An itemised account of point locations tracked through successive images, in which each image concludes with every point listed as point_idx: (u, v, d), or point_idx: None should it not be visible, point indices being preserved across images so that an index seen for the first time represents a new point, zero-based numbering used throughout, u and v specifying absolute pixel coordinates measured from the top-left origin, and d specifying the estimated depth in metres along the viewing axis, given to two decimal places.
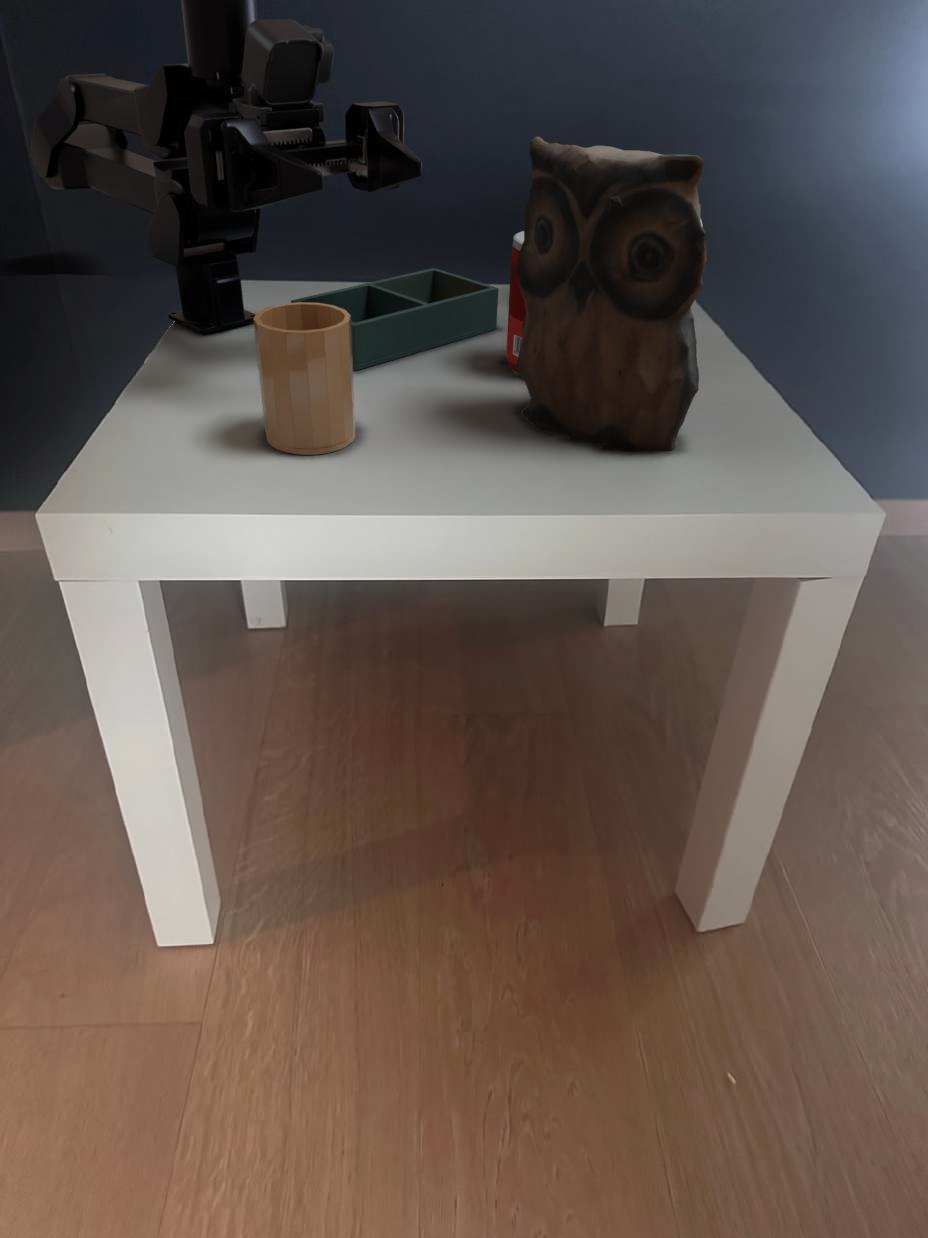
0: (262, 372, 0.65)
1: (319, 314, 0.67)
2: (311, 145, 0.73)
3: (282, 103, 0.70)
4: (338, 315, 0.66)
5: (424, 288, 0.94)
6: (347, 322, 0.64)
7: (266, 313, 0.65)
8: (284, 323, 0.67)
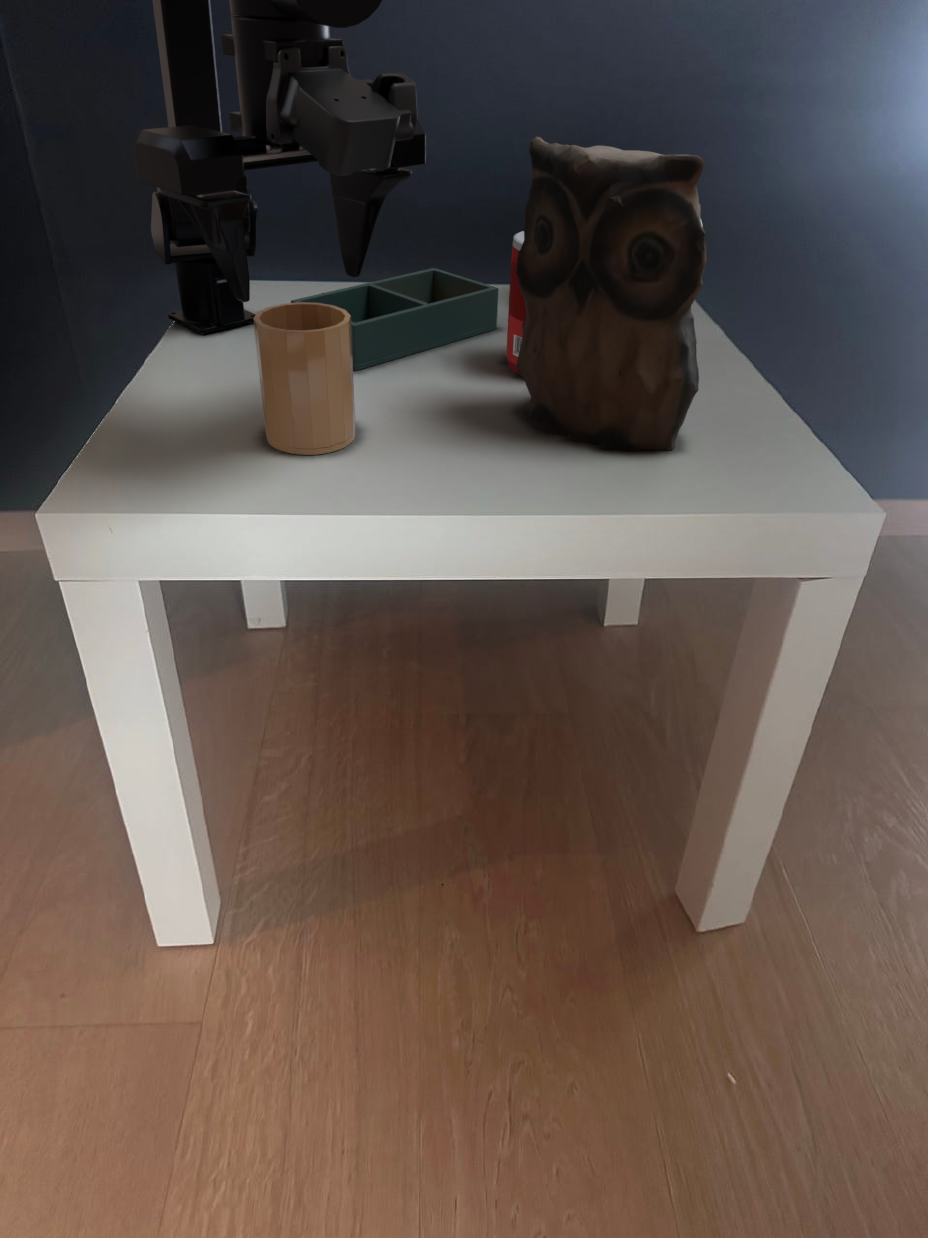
0: (262, 372, 0.65)
1: (319, 314, 0.67)
2: None
3: None
4: (338, 315, 0.66)
5: (424, 288, 0.94)
6: (347, 322, 0.64)
7: (266, 313, 0.65)
8: (284, 323, 0.67)
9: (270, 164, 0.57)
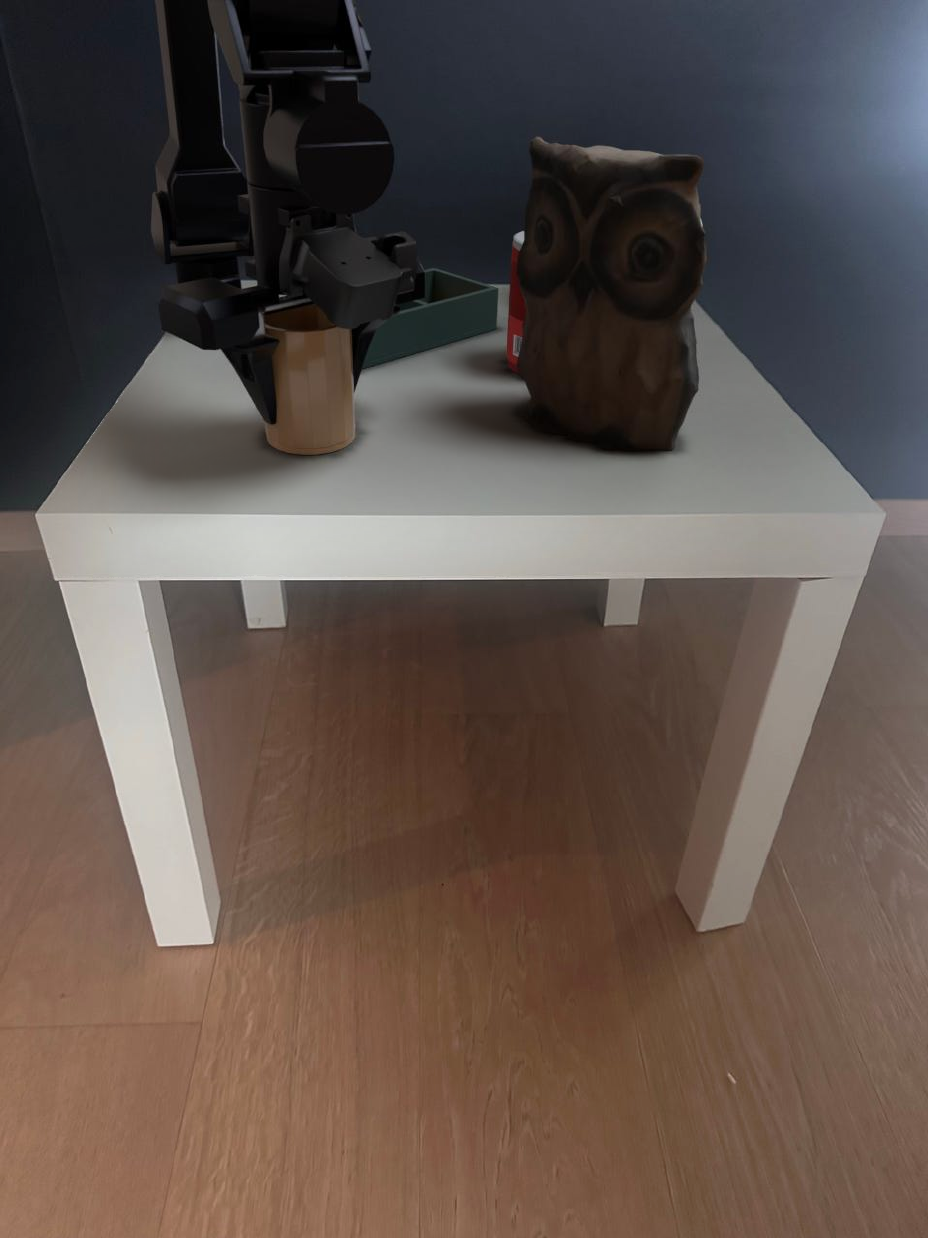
0: None
1: (319, 314, 0.67)
2: None
3: None
4: None
5: None
6: None
7: None
8: (284, 323, 0.67)
9: (282, 308, 0.62)
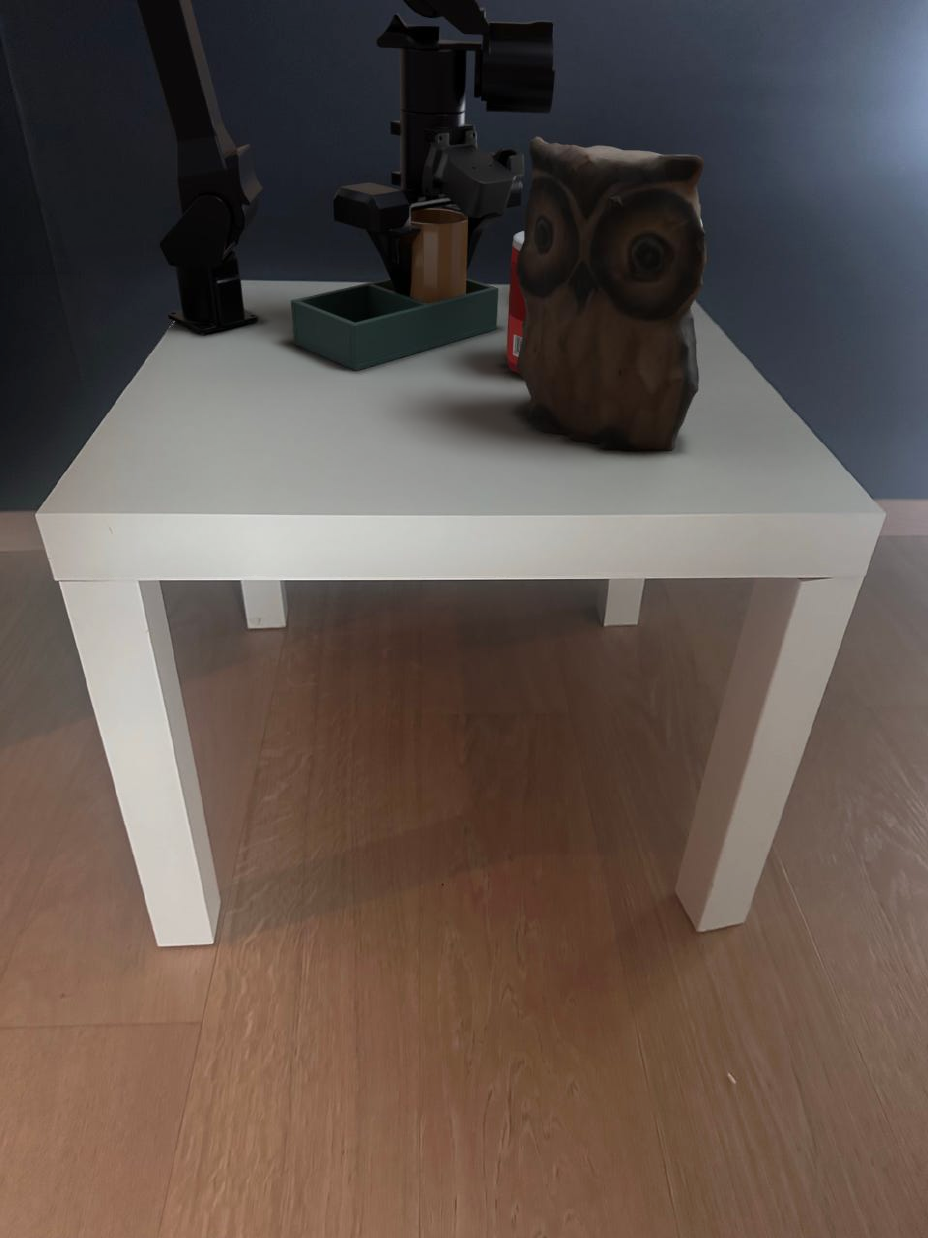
0: None
1: (441, 217, 0.88)
2: None
3: None
4: (457, 217, 0.87)
5: None
6: (467, 220, 0.84)
7: None
8: None
9: (419, 208, 0.83)
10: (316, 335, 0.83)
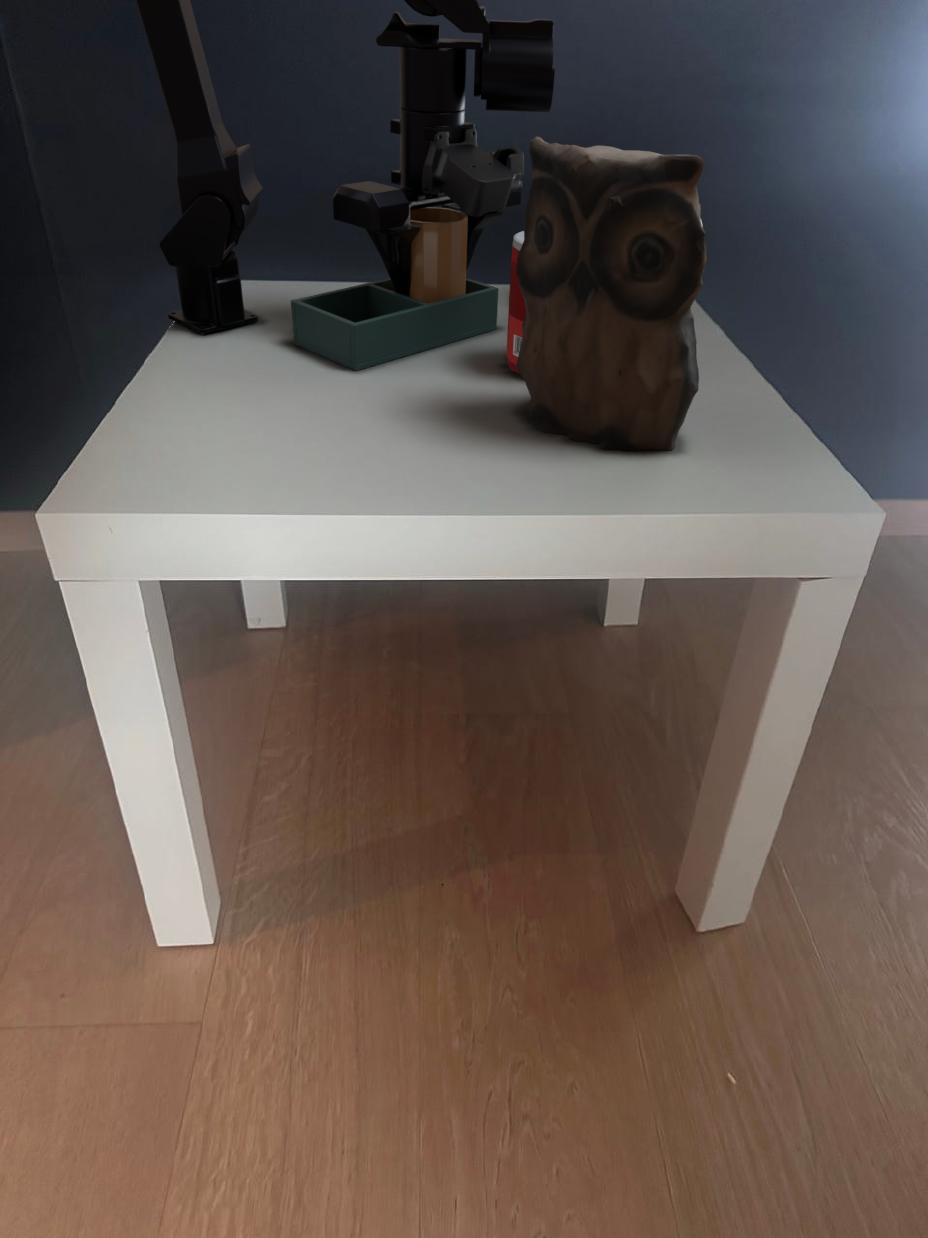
0: None
1: (441, 216, 0.88)
2: None
3: None
4: (457, 216, 0.87)
5: None
6: (467, 218, 0.84)
7: None
8: None
9: (419, 206, 0.83)
10: (316, 335, 0.83)
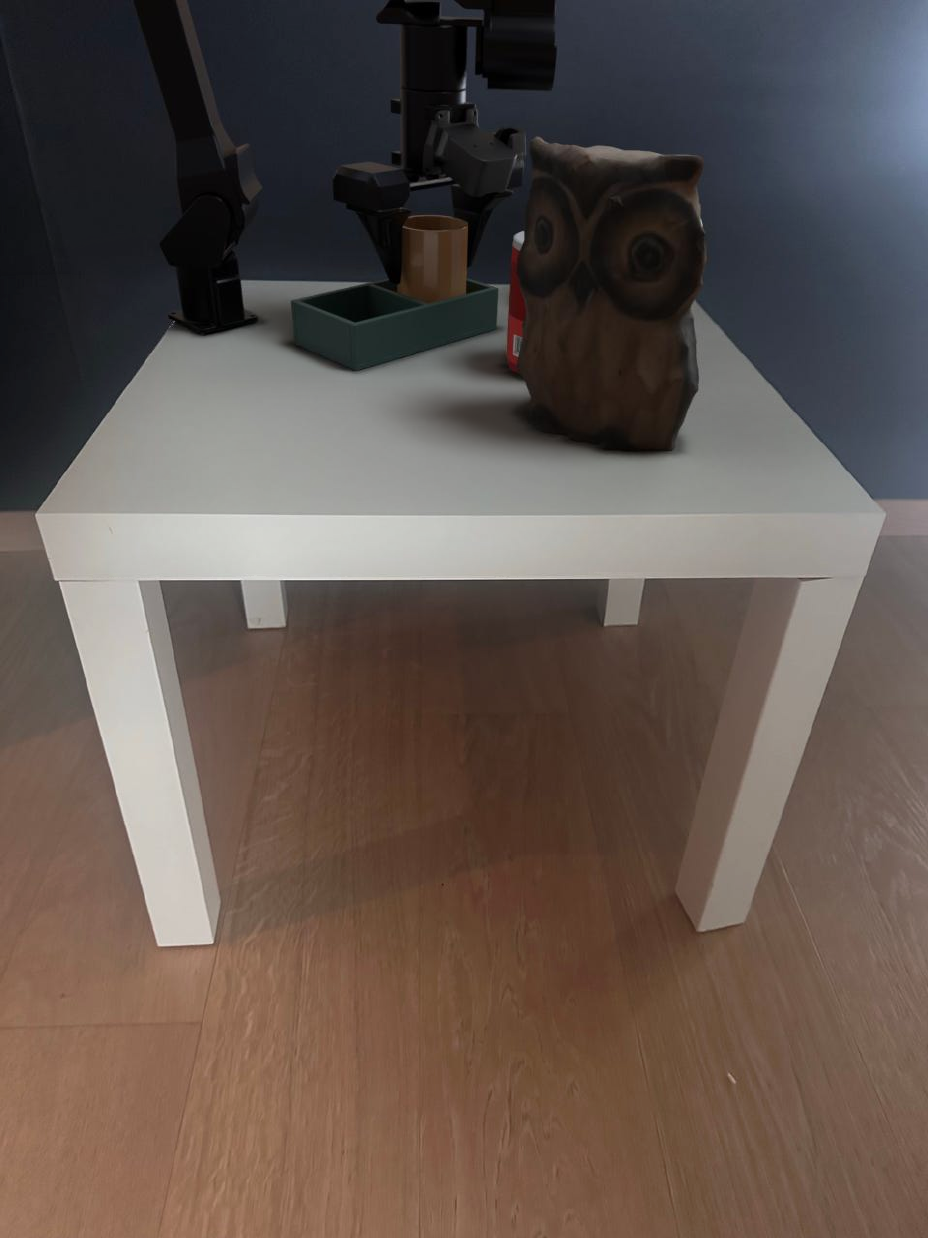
0: None
1: (441, 224, 0.88)
2: None
3: None
4: (457, 223, 0.87)
5: None
6: (467, 226, 0.85)
7: None
8: None
9: (420, 188, 0.82)
10: (316, 335, 0.83)
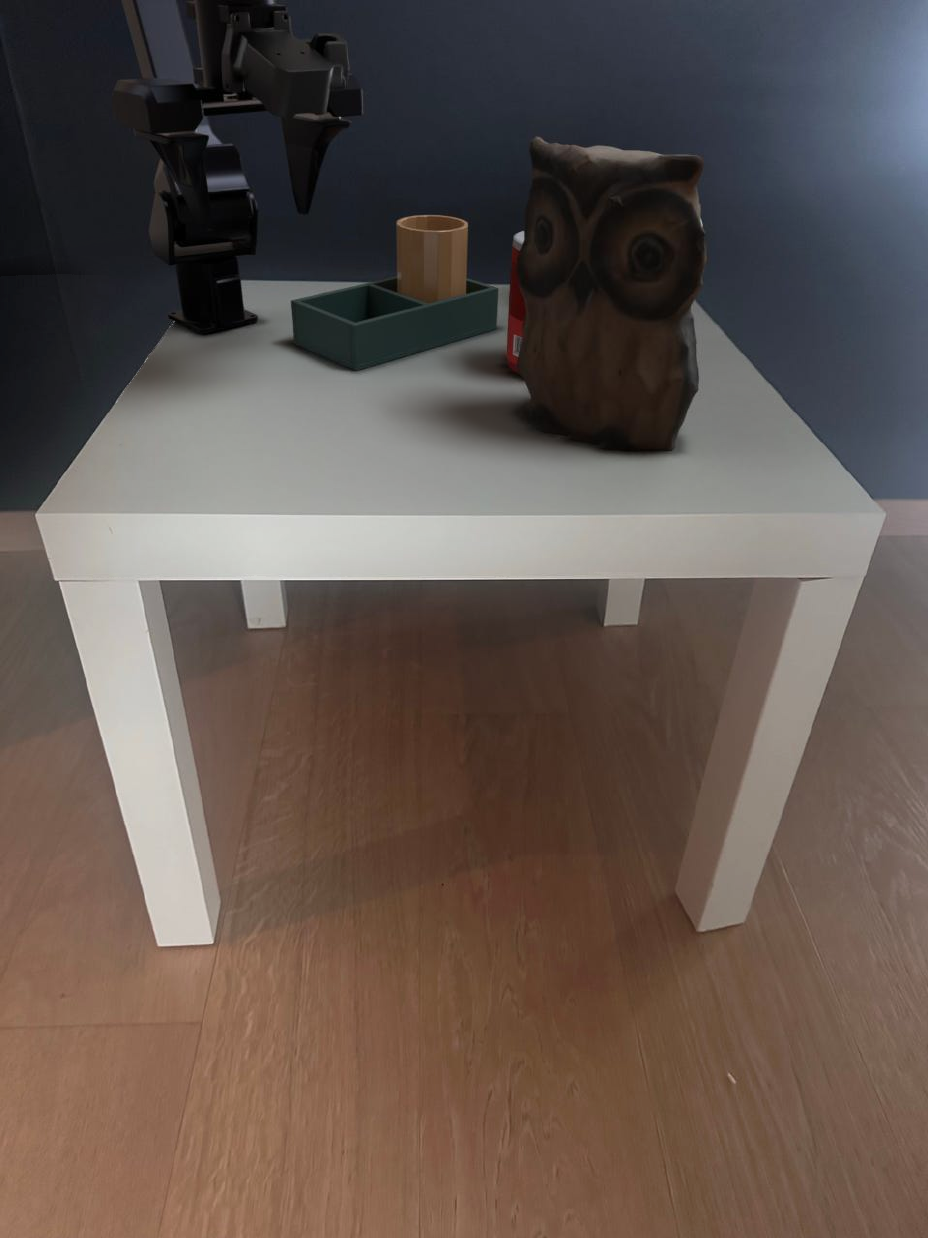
0: (401, 265, 0.86)
1: (441, 224, 0.88)
2: None
3: None
4: (457, 223, 0.87)
5: None
6: (467, 226, 0.85)
7: (403, 221, 0.86)
8: None
9: (227, 111, 0.68)
10: (316, 335, 0.83)
